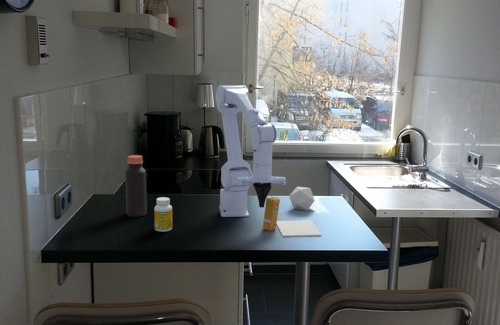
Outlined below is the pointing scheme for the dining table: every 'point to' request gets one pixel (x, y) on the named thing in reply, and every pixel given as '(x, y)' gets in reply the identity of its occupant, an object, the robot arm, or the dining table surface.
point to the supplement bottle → (163, 215)
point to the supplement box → (271, 213)
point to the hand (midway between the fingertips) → (261, 206)
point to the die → (302, 198)
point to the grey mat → (298, 228)
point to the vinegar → (135, 187)
